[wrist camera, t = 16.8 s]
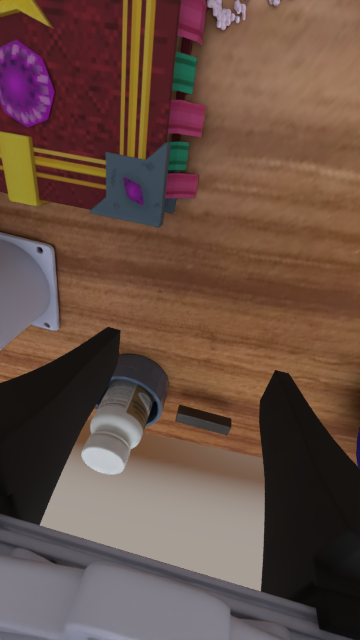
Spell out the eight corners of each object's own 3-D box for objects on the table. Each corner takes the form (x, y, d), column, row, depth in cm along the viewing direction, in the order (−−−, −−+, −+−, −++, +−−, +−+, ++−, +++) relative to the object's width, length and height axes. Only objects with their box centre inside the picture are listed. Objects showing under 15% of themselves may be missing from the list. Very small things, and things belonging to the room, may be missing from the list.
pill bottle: (160, 403, 28) (136, 481, 22) (119, 402, 29) (85, 475, 23) (151, 370, 26) (122, 445, 20) (107, 369, 27) (66, 441, 21)
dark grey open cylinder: (103, 394, 30) (91, 417, 27) (105, 346, 26) (91, 368, 24) (163, 410, 29) (156, 435, 27) (174, 364, 26) (167, 388, 23)
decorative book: (-103, -97, 13) (-259, -206, 9) (236, -56, 12) (234, -159, 8) (-36, 171, 20) (-111, 179, 15) (192, 215, 18) (178, 236, 14)
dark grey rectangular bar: (177, 412, 26) (175, 421, 25) (179, 404, 25) (177, 413, 25) (228, 426, 26) (227, 436, 25) (231, 418, 25) (231, 427, 24)
